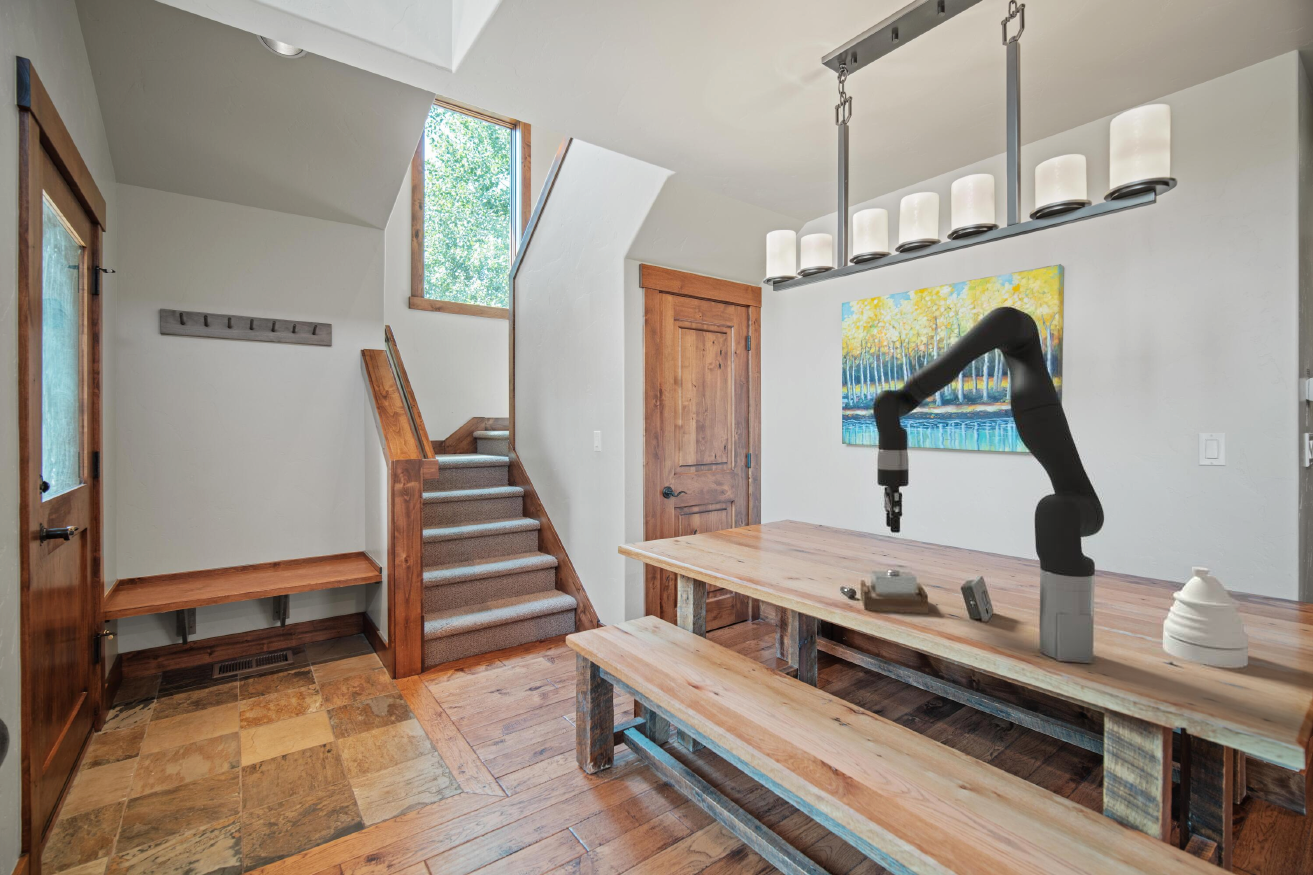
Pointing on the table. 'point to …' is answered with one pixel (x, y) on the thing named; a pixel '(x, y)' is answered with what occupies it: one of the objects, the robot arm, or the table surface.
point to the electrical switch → (977, 599)
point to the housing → (893, 583)
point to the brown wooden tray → (894, 601)
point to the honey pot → (1205, 624)
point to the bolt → (848, 592)
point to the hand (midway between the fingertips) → (892, 529)
